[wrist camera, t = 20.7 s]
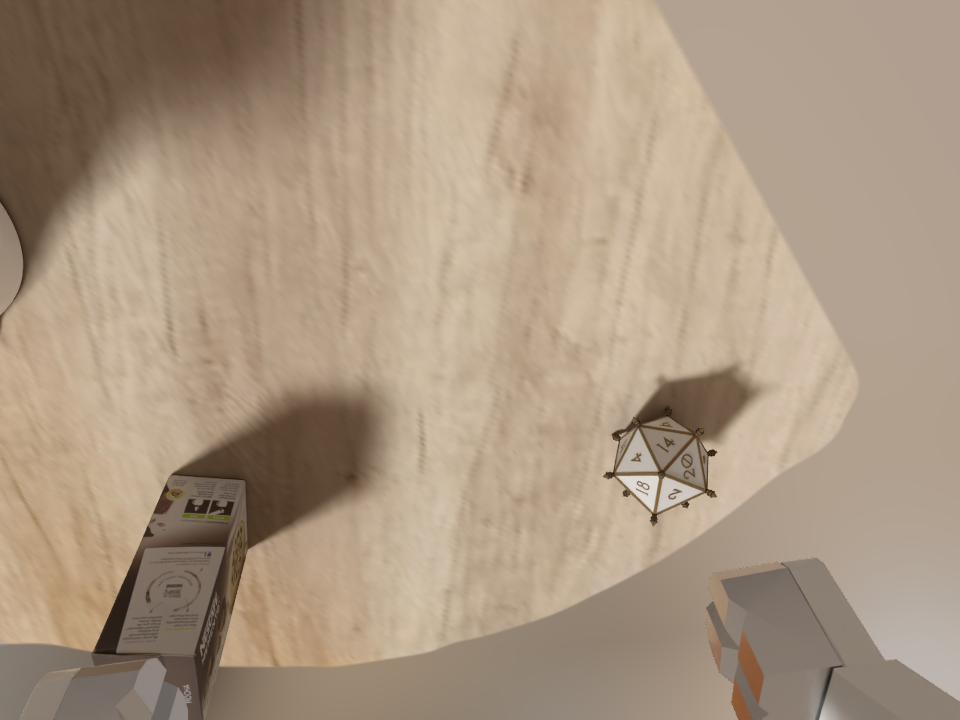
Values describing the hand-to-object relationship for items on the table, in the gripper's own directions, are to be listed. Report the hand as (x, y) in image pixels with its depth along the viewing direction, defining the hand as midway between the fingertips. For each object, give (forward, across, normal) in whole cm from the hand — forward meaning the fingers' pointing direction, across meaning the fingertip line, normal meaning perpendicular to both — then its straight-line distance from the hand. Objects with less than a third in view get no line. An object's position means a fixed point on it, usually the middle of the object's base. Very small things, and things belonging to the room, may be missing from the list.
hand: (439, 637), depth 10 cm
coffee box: (+37, +24, +32) cm, 55 cm away
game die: (+37, -14, +30) cm, 50 cm away
